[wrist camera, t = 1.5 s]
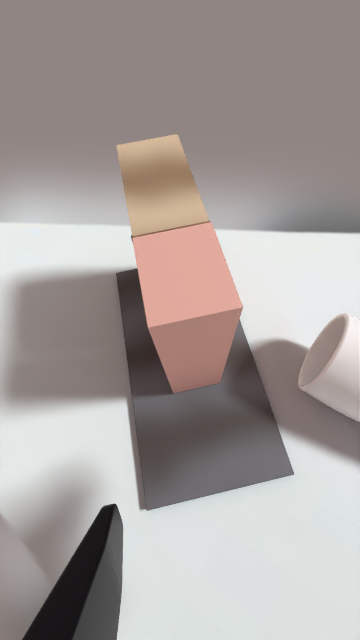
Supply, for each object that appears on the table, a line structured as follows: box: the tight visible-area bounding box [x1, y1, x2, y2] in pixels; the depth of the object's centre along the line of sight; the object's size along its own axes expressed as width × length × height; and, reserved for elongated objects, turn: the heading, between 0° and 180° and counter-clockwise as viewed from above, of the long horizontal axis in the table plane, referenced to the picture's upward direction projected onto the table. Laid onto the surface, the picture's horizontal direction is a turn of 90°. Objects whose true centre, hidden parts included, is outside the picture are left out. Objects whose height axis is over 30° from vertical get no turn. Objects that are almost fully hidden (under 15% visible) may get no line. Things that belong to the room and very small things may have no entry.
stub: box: [132, 222, 243, 393], centre depth 18 cm, size 5×4×13 cm
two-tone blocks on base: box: [116, 134, 294, 510], centre depth 19 cm, size 22×11×14 cm, turn 12°
